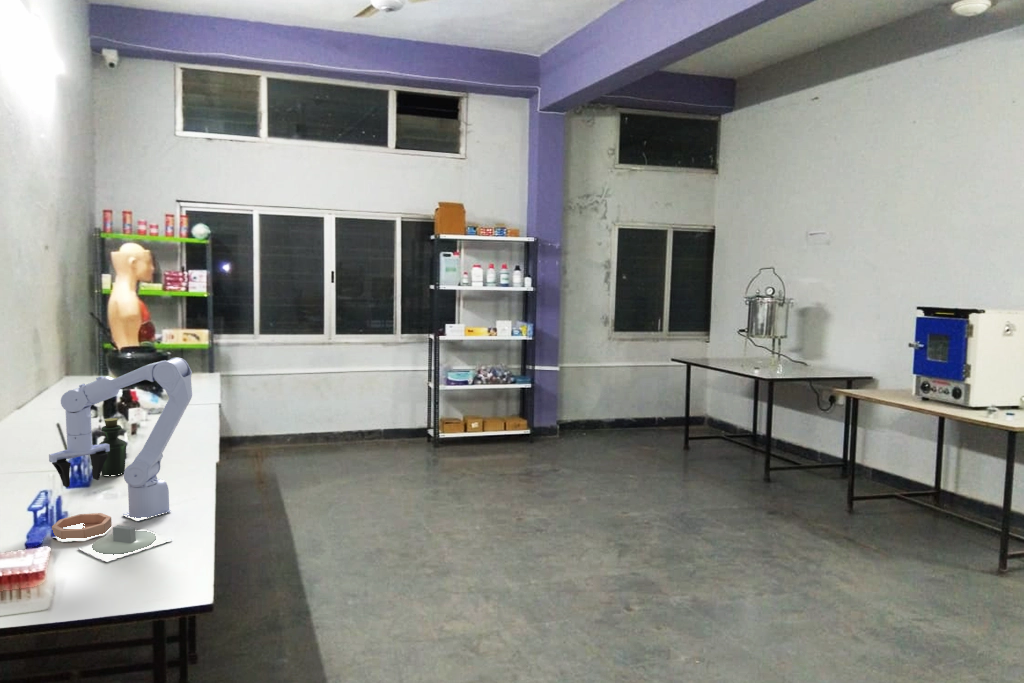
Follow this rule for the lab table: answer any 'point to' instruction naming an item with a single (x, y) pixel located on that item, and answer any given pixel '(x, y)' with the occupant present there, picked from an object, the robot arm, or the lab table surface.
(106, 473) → the potion bottle
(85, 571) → the lab table surface
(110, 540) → the lid
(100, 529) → the bowl
